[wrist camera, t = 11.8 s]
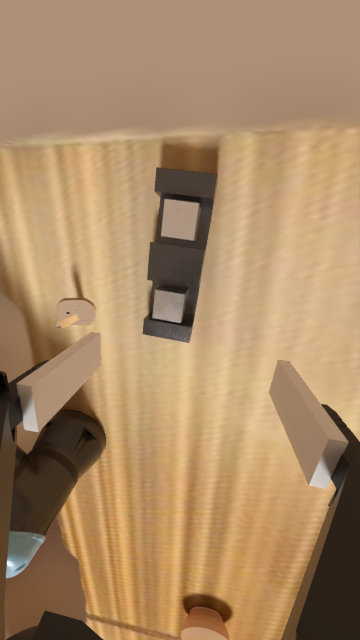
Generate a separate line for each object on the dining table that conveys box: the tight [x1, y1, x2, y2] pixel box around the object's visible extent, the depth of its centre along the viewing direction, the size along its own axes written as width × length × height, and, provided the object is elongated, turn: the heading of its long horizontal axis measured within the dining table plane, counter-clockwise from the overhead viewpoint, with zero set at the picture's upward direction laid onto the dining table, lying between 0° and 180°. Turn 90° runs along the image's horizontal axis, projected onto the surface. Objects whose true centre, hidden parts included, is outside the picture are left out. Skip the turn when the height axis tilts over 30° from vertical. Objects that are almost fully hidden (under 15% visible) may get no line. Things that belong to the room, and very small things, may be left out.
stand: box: [55, 300, 97, 329], centre depth 37 cm, size 8×5×8 cm
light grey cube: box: [152, 284, 188, 323], centre depth 34 cm, size 4×4×5 cm
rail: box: [143, 168, 218, 343], centre depth 33 cm, size 8×24×4 cm, turn 172°
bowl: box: [181, 607, 229, 640], centre depth 67 cm, size 16×16×8 cm
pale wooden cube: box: [161, 199, 201, 242], centre depth 30 cm, size 4×4×5 cm
